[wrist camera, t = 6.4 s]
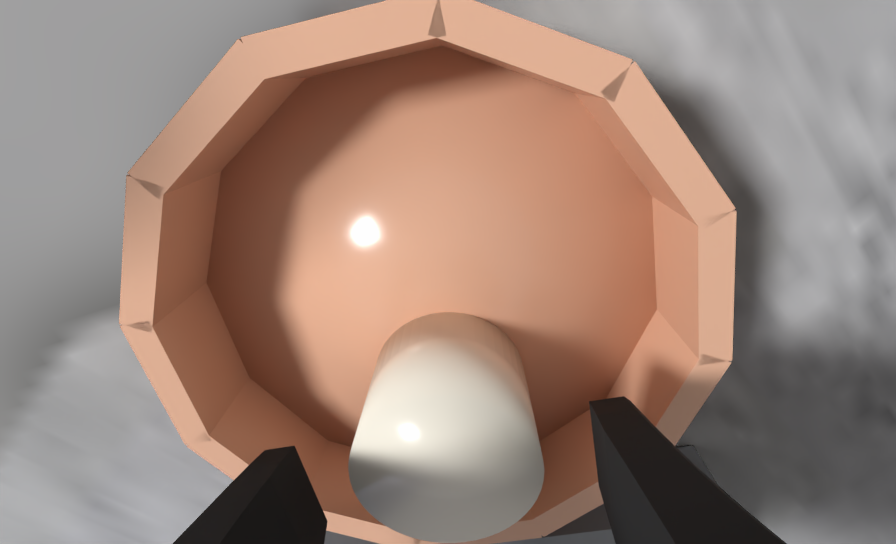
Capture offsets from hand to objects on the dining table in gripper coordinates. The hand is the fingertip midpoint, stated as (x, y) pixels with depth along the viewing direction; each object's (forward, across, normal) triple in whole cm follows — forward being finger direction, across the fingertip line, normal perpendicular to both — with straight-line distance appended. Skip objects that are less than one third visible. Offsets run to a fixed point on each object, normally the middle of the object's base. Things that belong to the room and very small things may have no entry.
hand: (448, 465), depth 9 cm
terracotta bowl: (+4, 0, -2) cm, 4 cm away
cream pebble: (+3, 0, 0) cm, 3 cm away
